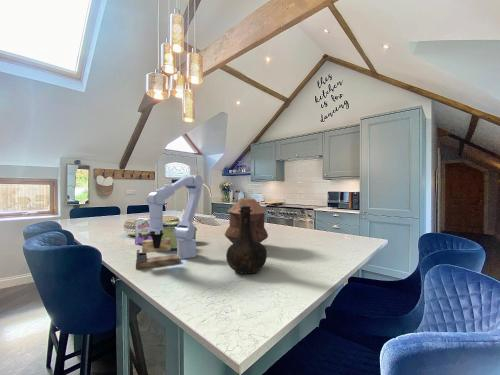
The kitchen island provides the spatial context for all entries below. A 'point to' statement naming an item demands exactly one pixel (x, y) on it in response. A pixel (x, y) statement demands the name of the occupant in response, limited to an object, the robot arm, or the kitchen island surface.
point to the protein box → (170, 234)
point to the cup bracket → (141, 257)
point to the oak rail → (149, 247)
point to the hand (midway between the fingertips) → (156, 247)
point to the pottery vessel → (256, 220)
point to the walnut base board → (158, 261)
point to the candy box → (142, 230)
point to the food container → (195, 233)
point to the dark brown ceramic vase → (246, 247)
